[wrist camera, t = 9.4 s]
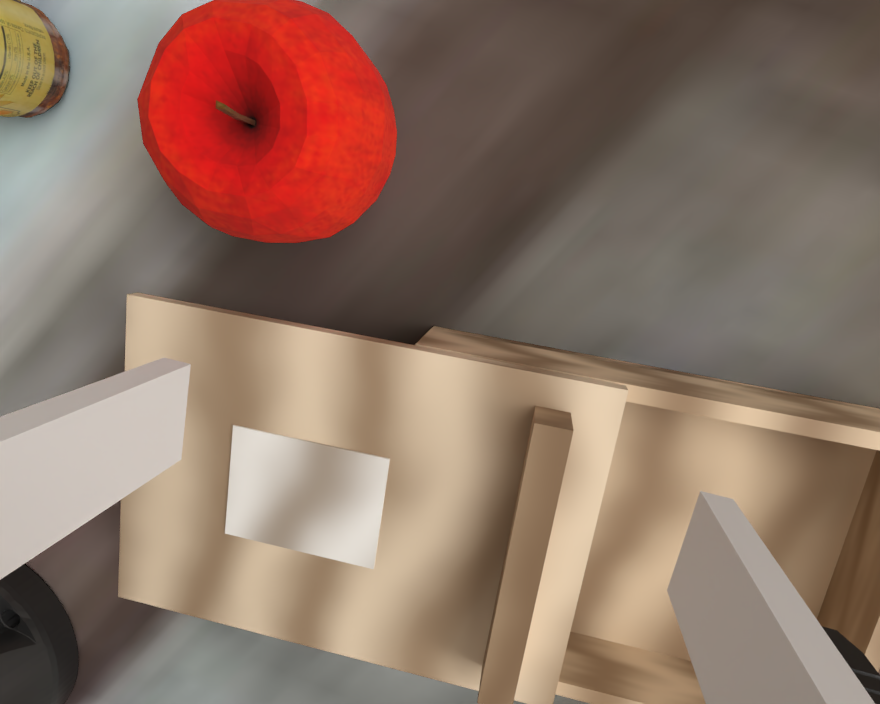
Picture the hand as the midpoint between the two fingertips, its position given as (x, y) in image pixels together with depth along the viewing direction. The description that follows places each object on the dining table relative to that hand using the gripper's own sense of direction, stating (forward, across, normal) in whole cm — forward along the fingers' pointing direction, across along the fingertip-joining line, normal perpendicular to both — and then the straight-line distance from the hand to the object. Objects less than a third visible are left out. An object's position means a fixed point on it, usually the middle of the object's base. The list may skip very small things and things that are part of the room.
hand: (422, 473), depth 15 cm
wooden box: (+18, +9, -8) cm, 22 cm away
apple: (+19, -10, +8) cm, 23 cm away
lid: (+13, -5, -9) cm, 16 cm away
